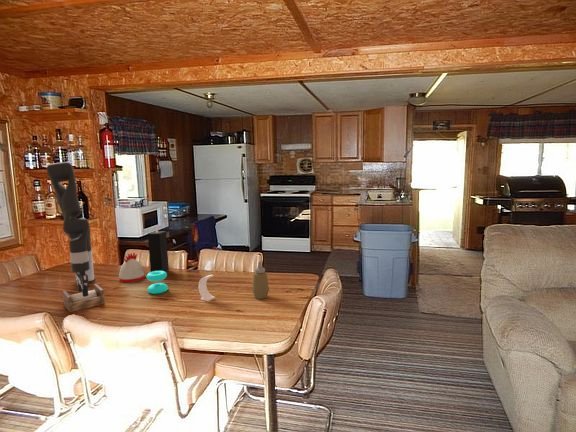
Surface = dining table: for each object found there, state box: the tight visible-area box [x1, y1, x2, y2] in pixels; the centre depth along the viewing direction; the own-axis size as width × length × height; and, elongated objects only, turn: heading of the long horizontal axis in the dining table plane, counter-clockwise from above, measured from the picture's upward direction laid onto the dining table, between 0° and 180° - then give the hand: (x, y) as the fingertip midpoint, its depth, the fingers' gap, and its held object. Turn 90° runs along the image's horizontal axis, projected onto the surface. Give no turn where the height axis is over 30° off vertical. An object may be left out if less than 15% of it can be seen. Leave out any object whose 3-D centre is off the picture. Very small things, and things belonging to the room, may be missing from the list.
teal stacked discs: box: [145, 271, 169, 295], centre depth 194 cm, size 10×10×10 cm
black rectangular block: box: [147, 226, 170, 273], centre depth 228 cm, size 8×8×28 cm
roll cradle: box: [62, 283, 105, 313], centre depth 178 cm, size 15×12×7 cm
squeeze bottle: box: [252, 260, 270, 300], centre depth 181 cm, size 8×8×18 cm
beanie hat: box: [118, 252, 146, 283], centre depth 217 cm, size 14×14×15 cm
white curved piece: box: [197, 274, 216, 302], centre depth 181 cm, size 5×6×12 cm
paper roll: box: [70, 289, 97, 303], centre depth 178 cm, size 11×5×5 cm, turn 131°
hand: (83, 293), depth 178 cm, fingers open, 8 cm apart
